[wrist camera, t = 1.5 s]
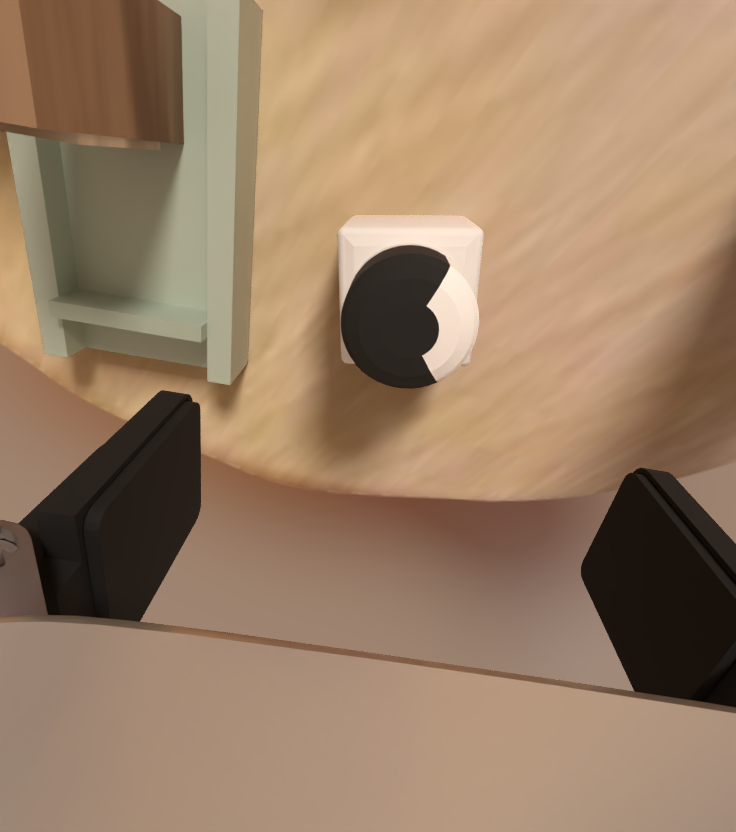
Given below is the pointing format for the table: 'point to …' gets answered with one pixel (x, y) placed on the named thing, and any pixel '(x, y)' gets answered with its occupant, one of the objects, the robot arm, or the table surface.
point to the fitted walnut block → (92, 72)
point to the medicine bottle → (408, 296)
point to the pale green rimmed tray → (155, 215)
